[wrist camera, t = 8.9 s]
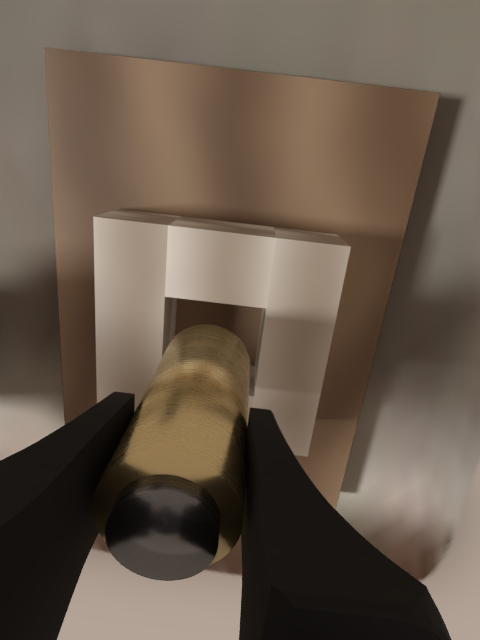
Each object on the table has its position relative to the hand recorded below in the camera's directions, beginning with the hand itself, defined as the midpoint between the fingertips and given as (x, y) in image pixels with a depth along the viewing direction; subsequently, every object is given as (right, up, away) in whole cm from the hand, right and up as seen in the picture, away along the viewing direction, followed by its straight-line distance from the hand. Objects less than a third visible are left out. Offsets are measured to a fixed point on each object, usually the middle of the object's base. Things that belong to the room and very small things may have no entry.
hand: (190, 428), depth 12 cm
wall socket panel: (0, +4, +10) cm, 10 cm away
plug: (0, +2, +4) cm, 4 cm away
